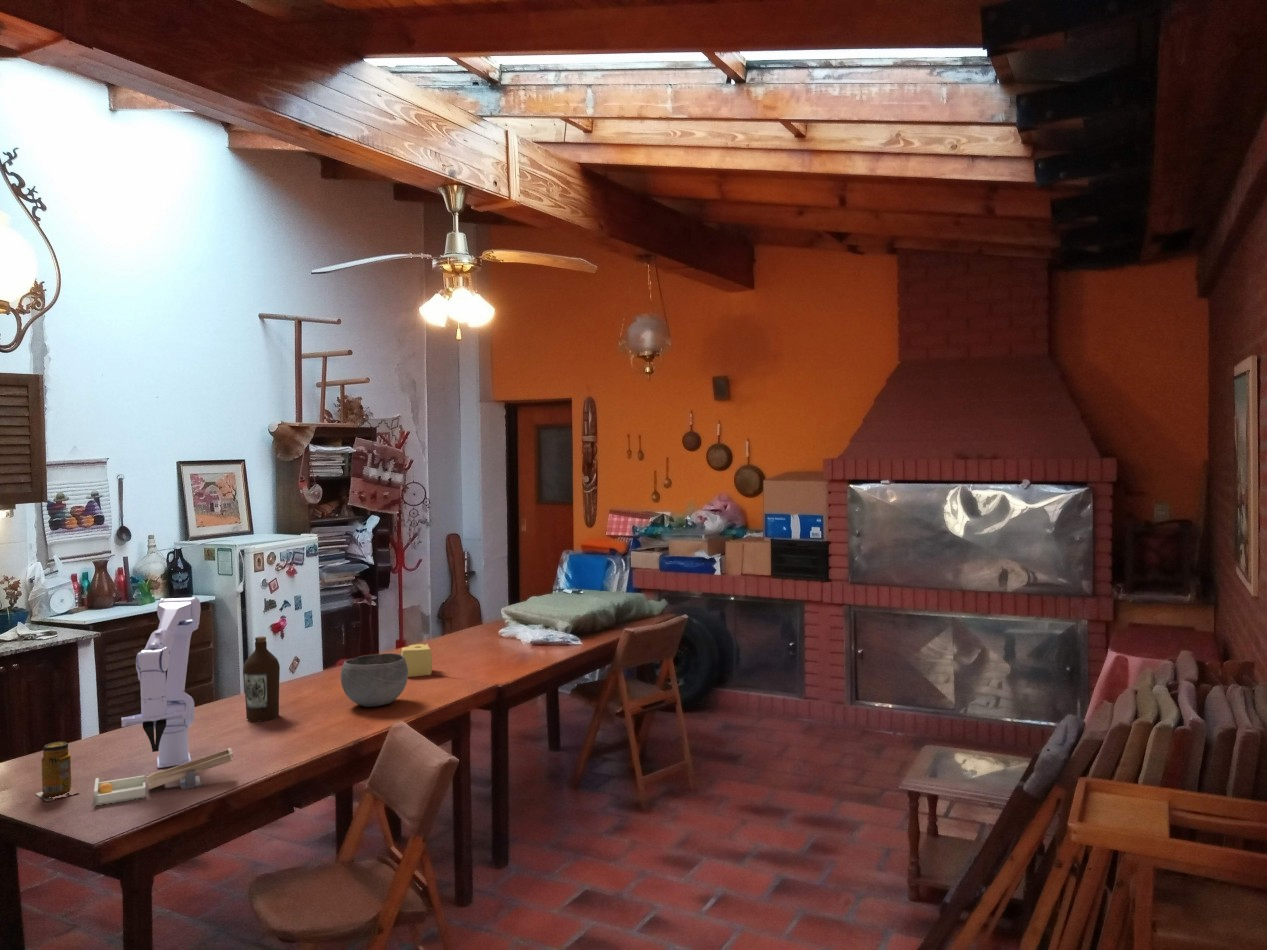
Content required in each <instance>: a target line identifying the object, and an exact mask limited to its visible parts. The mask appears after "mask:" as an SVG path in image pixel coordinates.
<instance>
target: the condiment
mask: <svg viewBox="0 0 1267 950" xmlns="http://www.w3.org/2000/svg"><path fill="white" fill-rule="evenodd" d="M42 751H43V752H42V754H43V755H42V758H41V779H42V780H41V782H42V783H41V786H42V791H38V792H36V793H35V795H37V796H38V798H41V799H42V800H44V801H45V802H50V801H51V802H52V801H55V799H53V798H52V797H55V796H59V795H63V794H65V793H67V792H69V791H70V790H71V788H72V768H71V763H72V762H71V761H72V760H71V754H70V753H69V743H68V742H66V741H57V742H56V741H55V742H50V743H47V744H45V745H43V747H42ZM49 797H51V798H49Z"/></svg>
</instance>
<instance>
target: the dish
mask: <svg viewBox="0 0 1267 950" xmlns="http://www.w3.org/2000/svg"><path fill="white" fill-rule="evenodd" d="M103 783H110V784H111V785H112V787H113V790H112V792H111V793H105V794H100V793H99V787H100V786H101V785H102V784H103ZM146 790H147V789H146V775H139V776H138V775H137V776H132V777H124V778H118V779H112V780H105V781H100V777H96V778H95V781H94V789H93V799H94V802H93V803H94V807H97V806H96V805H100V806H103V805H102V804H106V805H110V804H109V803H112V804H117V802H118V803H122V802H123V801H124V802H130V801H135V799H136V800H140V799H139V798H142V799H145V798H144V797H147V794H146V792H147V791H146ZM129 800H130V801H129Z"/></svg>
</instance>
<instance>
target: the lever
mask: <svg viewBox="0 0 1267 950" xmlns="http://www.w3.org/2000/svg"><path fill="white" fill-rule="evenodd" d="M234 760H235V758H234V754H233V751H232V748H231V747H229V748H226V749H224V750H220V751H218V752H215V753H212V754H208V755H206V756H203V757H198V758H196V759H194V760H191V762H188V763H185V764H182V765H176V766H172V767H171V768H168V769H159V770H157V771H154V772H151V773H149V775H147V776H146V780H147V782H146V783H147V788H148V790H151V789H154V788H157V787H160V786H163V785H166V784H168V783H171V782H175V781H179V780H180V779H182V778H185V777H186V771H190V770H195V774H197V773H200V772H203V771H206V770H208V769H212V768H214V767H218V766H221V765H223V764H226V763H229V762H232V761H234Z"/></svg>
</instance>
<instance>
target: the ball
mask: <svg viewBox="0 0 1267 950" xmlns="http://www.w3.org/2000/svg"><path fill="white" fill-rule="evenodd" d="M112 790H113V787H112V785H111V784H110V783H103V784H102V785H101V786H100V787H99V793H100V794H105V793H111V792H112Z"/></svg>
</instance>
